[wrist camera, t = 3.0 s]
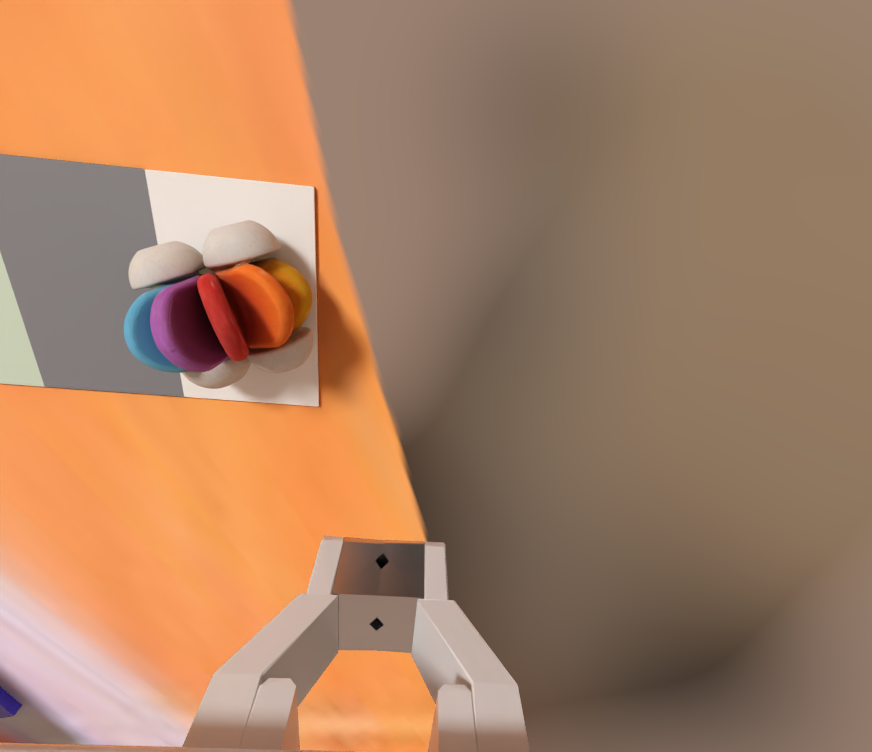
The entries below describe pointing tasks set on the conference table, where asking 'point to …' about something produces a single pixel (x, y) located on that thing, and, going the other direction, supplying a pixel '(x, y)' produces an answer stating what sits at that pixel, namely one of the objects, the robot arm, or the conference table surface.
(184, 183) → the game mat
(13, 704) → the stapler
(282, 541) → the conference table surface
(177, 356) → the rainbow segmented toy
